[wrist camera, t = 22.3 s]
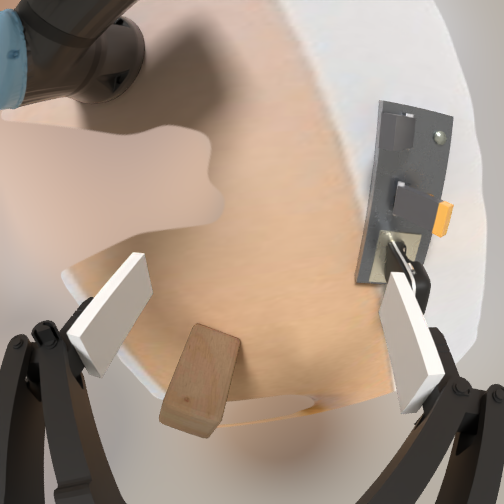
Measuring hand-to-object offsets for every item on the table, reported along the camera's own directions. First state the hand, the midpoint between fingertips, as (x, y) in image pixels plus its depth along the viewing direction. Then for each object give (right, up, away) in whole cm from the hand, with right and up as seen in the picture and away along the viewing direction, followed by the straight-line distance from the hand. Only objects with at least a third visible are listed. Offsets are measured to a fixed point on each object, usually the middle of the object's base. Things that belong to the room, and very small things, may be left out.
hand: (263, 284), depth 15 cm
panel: (+22, +9, +24) cm, 34 cm away
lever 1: (+19, +17, +17) cm, 31 cm away
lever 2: (+19, +9, +21) cm, 30 cm away
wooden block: (-9, -18, +45) cm, 49 cm away
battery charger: (+22, +1, +27) cm, 35 cm away
